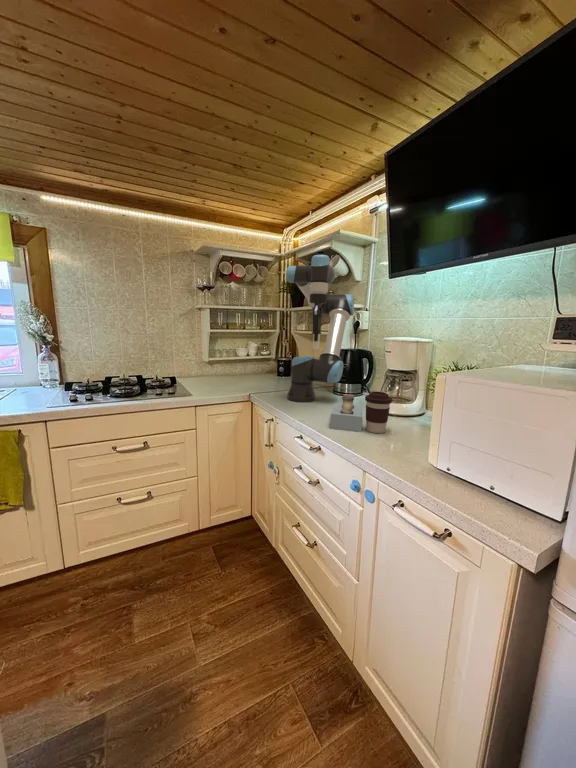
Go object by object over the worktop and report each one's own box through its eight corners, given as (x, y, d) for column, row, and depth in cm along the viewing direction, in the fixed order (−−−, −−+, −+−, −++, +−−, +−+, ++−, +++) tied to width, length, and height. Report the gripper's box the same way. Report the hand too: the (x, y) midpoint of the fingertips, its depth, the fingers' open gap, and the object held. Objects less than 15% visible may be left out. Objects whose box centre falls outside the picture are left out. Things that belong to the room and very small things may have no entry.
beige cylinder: (341, 416, 131) (342, 395, 129) (352, 417, 130) (354, 396, 128) (340, 420, 126) (341, 397, 125) (352, 421, 125) (353, 398, 124)
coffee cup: (393, 430, 125) (396, 393, 123) (381, 436, 118) (385, 397, 115) (370, 424, 132) (373, 389, 129) (357, 430, 125) (360, 392, 122)
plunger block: (333, 416, 143) (334, 403, 142) (361, 418, 140) (362, 405, 139) (329, 428, 126) (330, 413, 124) (361, 431, 123) (362, 416, 122)
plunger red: (342, 414, 140) (343, 394, 138) (352, 415, 139) (354, 394, 137) (341, 416, 135) (342, 396, 133) (352, 418, 134) (354, 397, 132)
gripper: (312, 294, 144) (309, 347, 148) (307, 292, 131) (304, 349, 136) (328, 295, 142) (325, 348, 147) (325, 292, 130) (322, 350, 134)
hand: (315, 348), depth 141 cm, fingers closed
